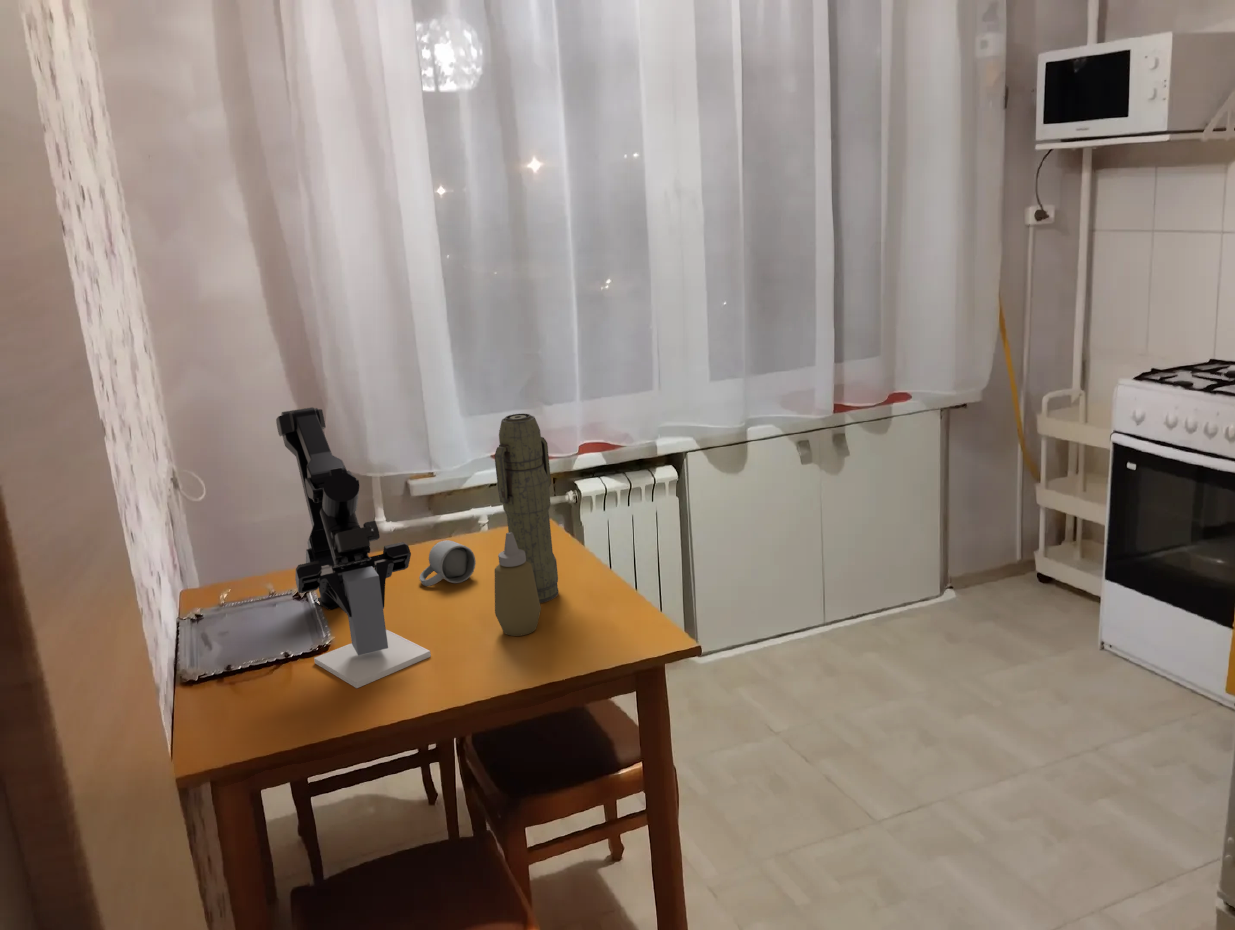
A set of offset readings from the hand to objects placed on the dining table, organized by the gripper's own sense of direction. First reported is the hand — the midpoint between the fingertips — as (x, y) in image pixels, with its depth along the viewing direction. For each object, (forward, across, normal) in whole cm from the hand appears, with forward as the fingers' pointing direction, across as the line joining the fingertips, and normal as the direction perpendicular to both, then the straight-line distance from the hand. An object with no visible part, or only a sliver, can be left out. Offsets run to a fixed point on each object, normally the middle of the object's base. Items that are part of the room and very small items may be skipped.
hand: (366, 612), depth 162 cm
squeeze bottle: (+8, +25, +5) cm, 27 cm away
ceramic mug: (-14, +22, +28) cm, 38 cm away
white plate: (+6, 0, +7) cm, 9 cm away
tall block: (+4, 0, +6) cm, 7 cm away
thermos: (-1, +34, +14) cm, 37 cm away
